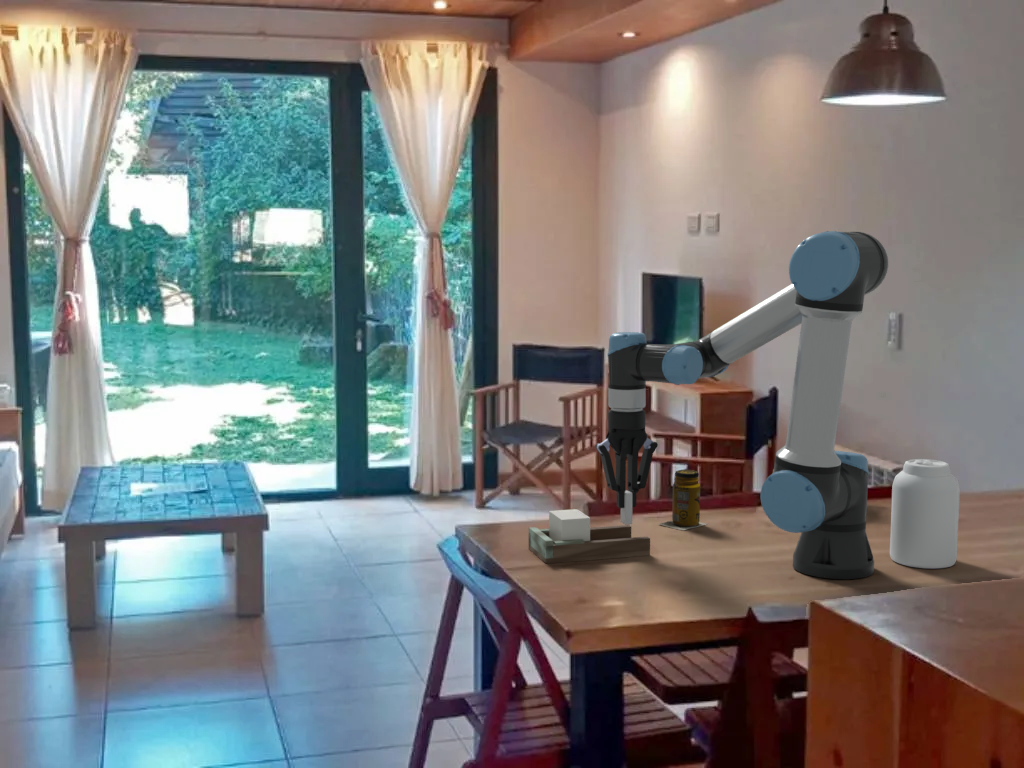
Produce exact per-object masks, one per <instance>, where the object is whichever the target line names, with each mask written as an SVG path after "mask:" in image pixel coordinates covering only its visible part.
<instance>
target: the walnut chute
mask: <svg viewBox="0 0 1024 768" xmlns="http://www.w3.org/2000/svg"><path fill="white" fill-rule="evenodd" d="M528 550H530V552H531V553H533V554H534V555H535V556H536V557H538V558H539V560H541V561H543V563H545V564H547V565H548V564H558V563H571V562H583V561H595V560H606V559H607V560H608V559H619V558H633V557H643V556H644V557H646V556H651V537H649V536H637V537H636V536H635V537H632V526H631V524H630V525H625V524H623V525H611V526H609V525H608V526H598V527H590V541H584V540H583V539H575V540H562V541H553V540H552V539H550V538H549V527H548V528H538V527H536V526H529V527H528Z"/></svg>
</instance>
